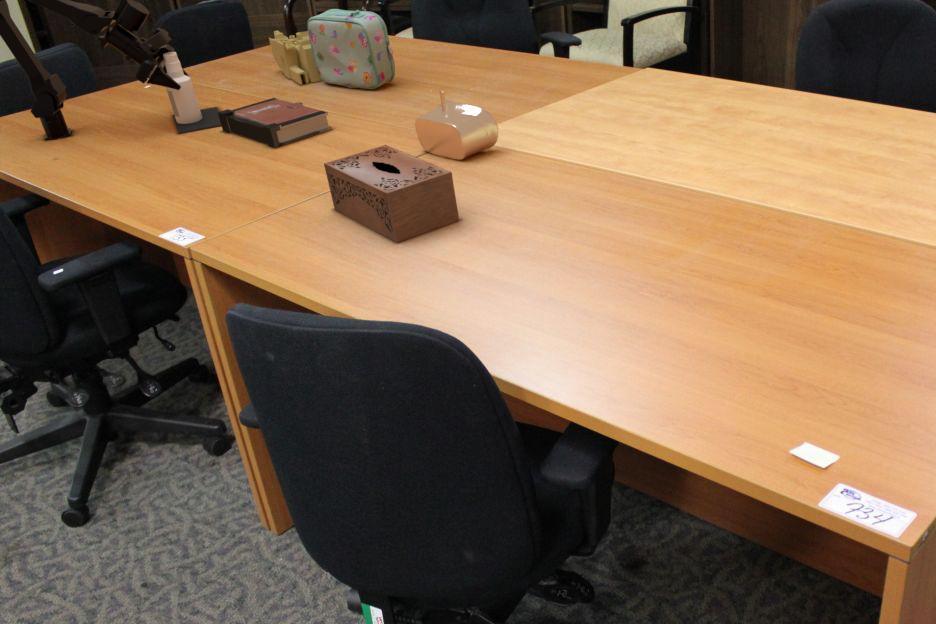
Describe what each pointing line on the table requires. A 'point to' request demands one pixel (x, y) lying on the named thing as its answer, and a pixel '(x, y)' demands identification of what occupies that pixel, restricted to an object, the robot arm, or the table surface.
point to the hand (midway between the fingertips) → (184, 83)
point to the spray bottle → (181, 92)
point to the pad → (201, 121)
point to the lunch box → (351, 48)
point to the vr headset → (456, 130)
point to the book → (274, 122)
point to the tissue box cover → (392, 192)
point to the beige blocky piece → (295, 57)
